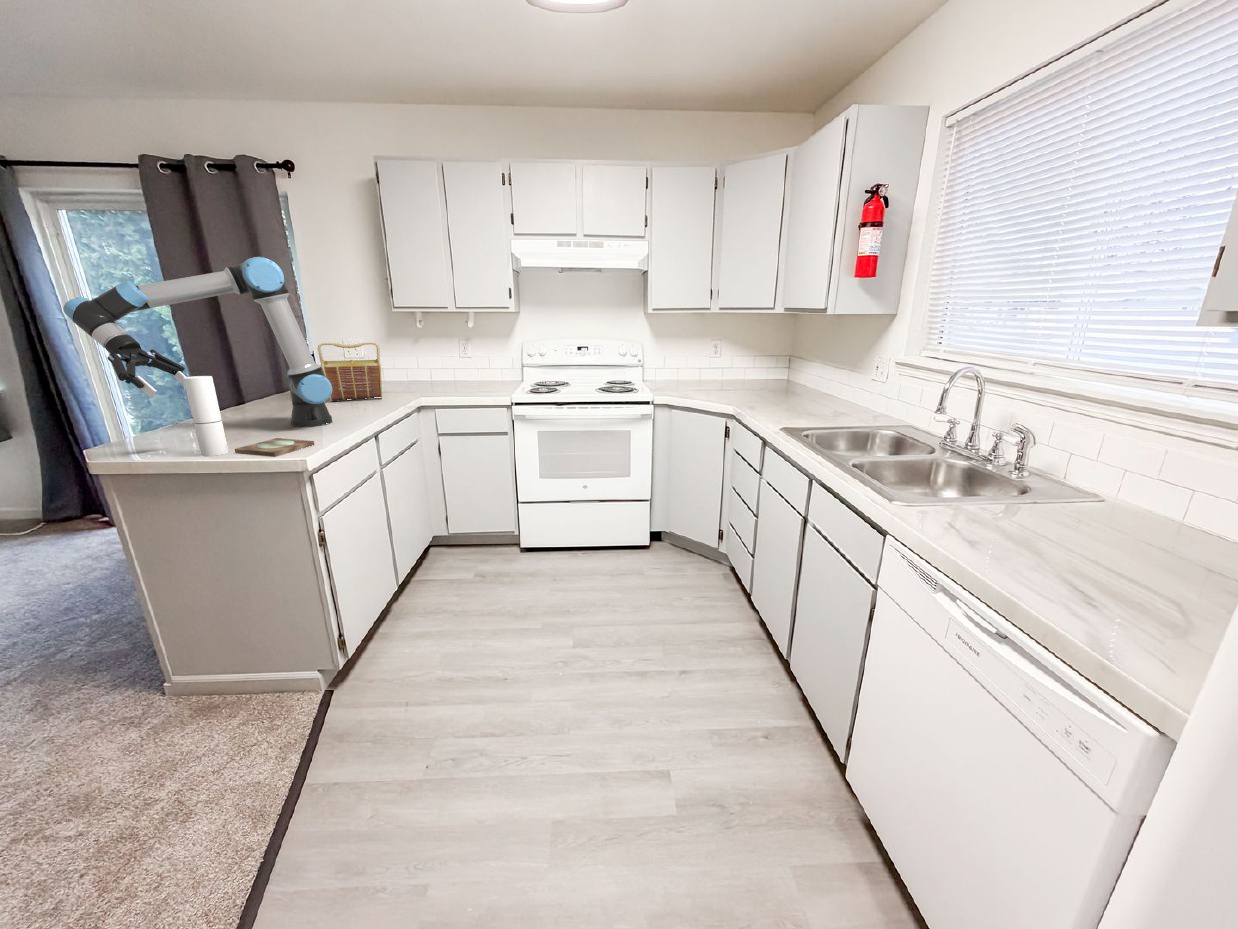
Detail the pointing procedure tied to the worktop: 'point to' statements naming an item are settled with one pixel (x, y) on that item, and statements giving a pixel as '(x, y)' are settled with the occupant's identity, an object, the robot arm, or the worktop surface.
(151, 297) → the robot arm
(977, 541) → the worktop surface
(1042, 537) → the worktop surface
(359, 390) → the picnic basket
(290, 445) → the board
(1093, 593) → the worktop surface
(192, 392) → the cylindrical container
